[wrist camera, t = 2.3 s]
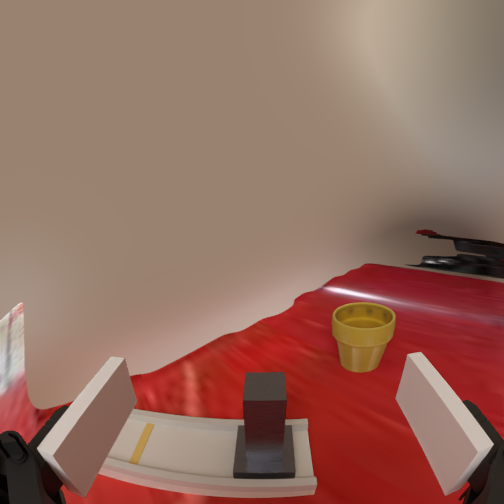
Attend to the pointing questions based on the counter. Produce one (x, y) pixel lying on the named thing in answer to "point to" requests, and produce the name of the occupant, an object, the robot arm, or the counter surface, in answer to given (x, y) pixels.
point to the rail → (199, 457)
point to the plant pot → (362, 334)
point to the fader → (264, 430)
